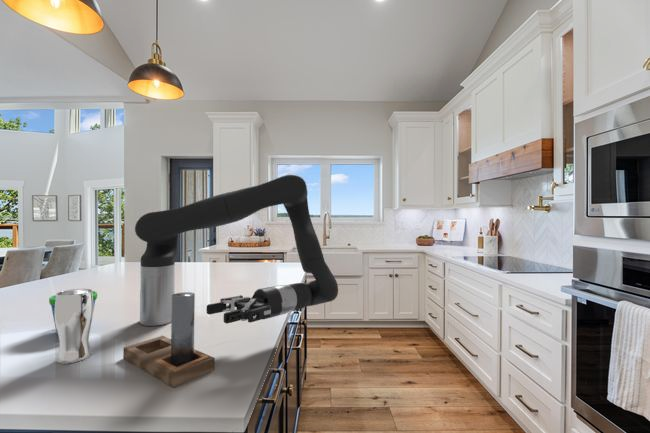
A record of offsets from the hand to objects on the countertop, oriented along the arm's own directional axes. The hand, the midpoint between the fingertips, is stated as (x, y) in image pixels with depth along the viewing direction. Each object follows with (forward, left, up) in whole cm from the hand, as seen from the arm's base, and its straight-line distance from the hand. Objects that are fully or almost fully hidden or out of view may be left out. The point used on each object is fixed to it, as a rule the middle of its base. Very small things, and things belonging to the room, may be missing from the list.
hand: (215, 314), depth 73 cm
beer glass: (-27, -18, -11) cm, 34 cm away
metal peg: (-1, -7, -10) cm, 13 cm away
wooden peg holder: (-7, -7, -10) cm, 15 cm away
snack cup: (-47, -12, -11) cm, 49 cm away
